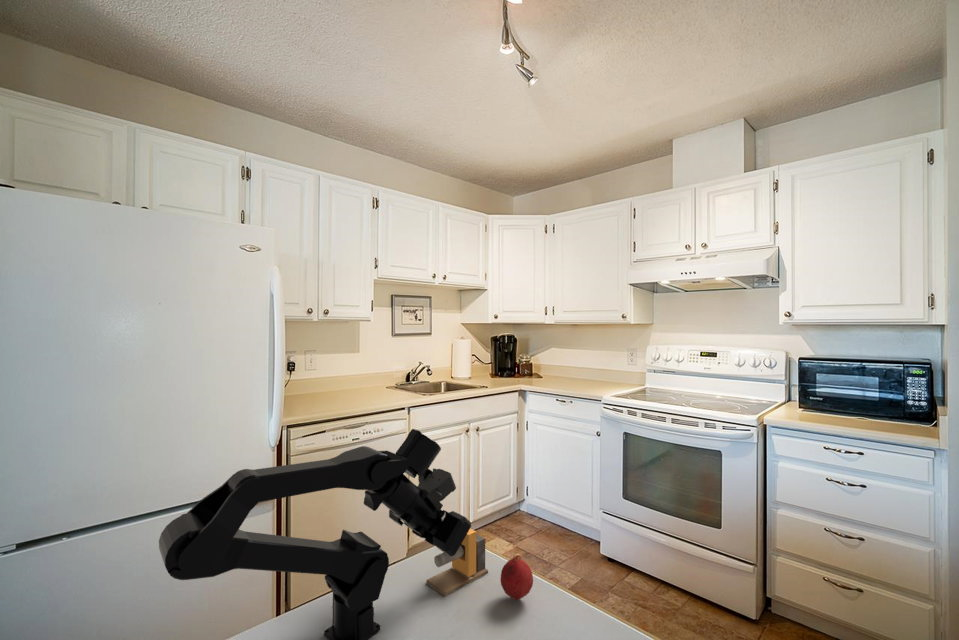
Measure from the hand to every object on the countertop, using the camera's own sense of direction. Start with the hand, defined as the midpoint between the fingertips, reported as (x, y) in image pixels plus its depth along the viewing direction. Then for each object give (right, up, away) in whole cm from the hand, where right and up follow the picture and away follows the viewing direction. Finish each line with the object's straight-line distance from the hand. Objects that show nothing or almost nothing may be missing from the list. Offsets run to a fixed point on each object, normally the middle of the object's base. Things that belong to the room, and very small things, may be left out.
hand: (451, 541), depth 82 cm
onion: (+12, -8, -6) cm, 15 cm away
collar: (+2, -7, +2) cm, 7 cm away
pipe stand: (+1, -8, +1) cm, 8 cm away
